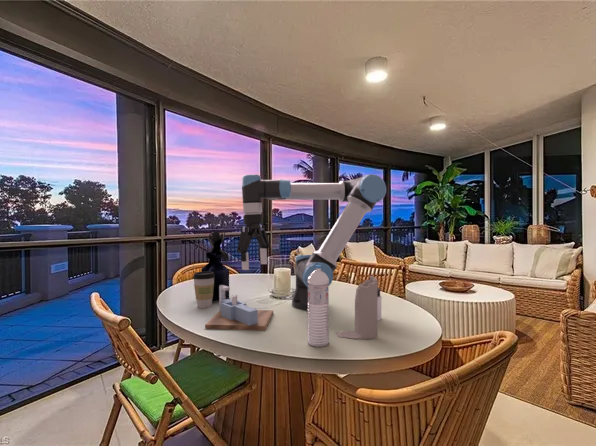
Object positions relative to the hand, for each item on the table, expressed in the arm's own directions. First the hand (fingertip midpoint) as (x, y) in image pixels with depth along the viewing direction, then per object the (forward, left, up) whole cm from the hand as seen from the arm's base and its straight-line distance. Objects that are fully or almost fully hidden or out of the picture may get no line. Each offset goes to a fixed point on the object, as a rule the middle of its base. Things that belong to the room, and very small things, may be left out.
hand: (255, 266), depth 129 cm
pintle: (+7, +4, -20) cm, 22 cm away
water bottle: (-26, +25, -21) cm, 41 cm away
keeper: (+13, -1, -20) cm, 24 cm away
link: (+6, +6, -19) cm, 21 cm away
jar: (-46, -1, -21) cm, 50 cm away
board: (+4, +5, -20) cm, 21 cm away
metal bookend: (-39, +17, -21) cm, 47 cm away
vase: (+25, -27, -21) cm, 43 cm away
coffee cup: (+26, -14, -21) cm, 36 cm away
